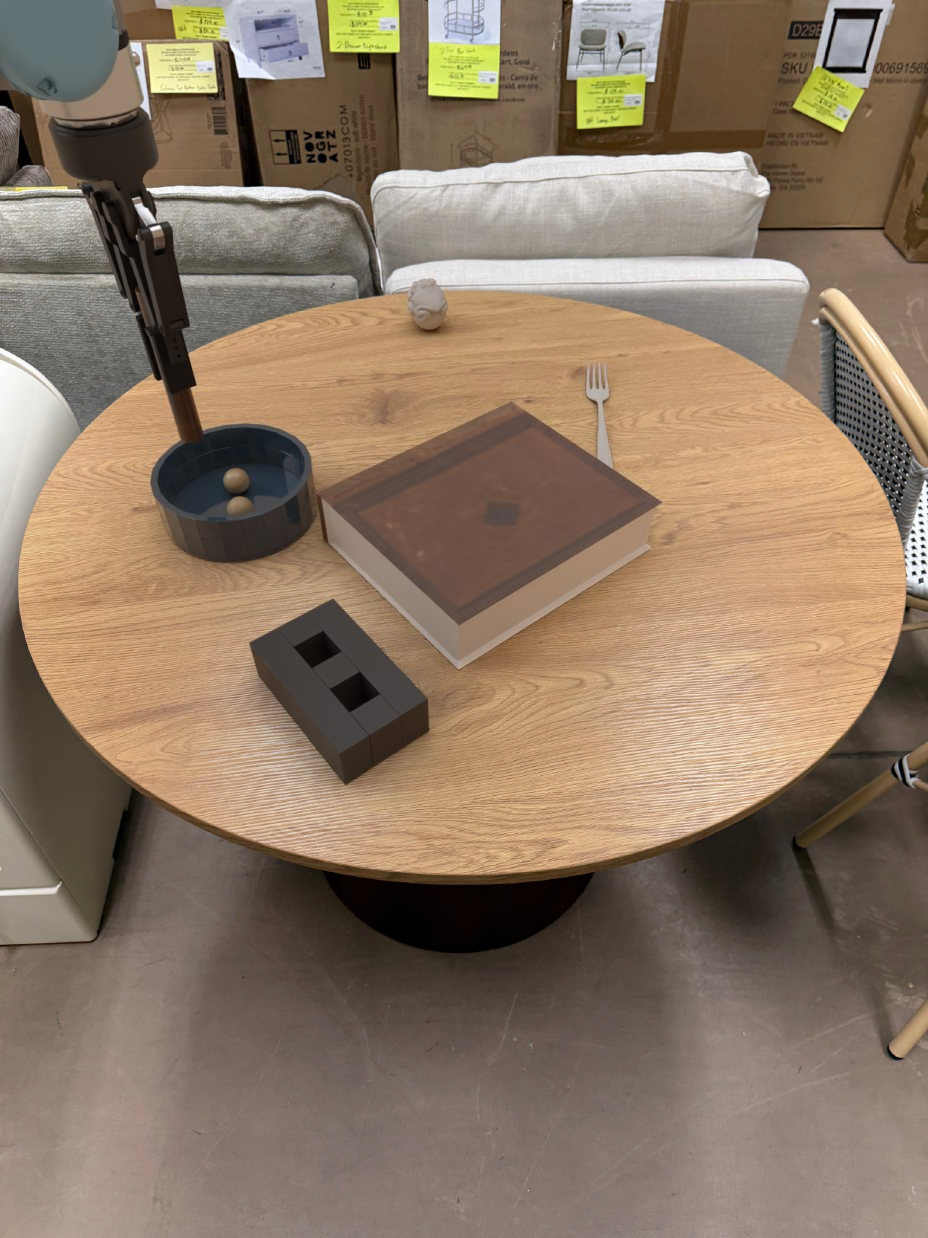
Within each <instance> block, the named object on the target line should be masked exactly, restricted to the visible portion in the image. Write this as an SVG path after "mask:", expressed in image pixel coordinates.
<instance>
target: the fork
mask: <svg viewBox="0 0 928 1238" xmlns="http://www.w3.org/2000/svg"><path fill="white" fill-rule="evenodd" d="M601 365H602V364H601V361H599V362H598V369H597V371H598V372H597V375H598V388H597V383H596V362H595V361H593V365H592V382H591V381H590V378H591V362H590V361H587V368H586V369H587V370H586V383H585V395H586V397H587V398H588V399H590V400H591V401H594V402H596V404H597V409H598V412H597V413H598V416H597V417H598V423H597V426H598V427H597V444H596V445H597V446H596V447H597V448H596V449H597V450H596V458H597V459H599V460H600V461H602V462H603V463H605V464H606V465H608V466H609V467H611V468H612V469H614V465H613V459H612V453H611V448H610V443H609V436H608V432H607V427H606V421H605V413H604V403H603V402H604V401H607V400H608V399H609V398H610V388H609V381H608V371H607V365H606V362H605V361H604V362H603V377H604V378H603V379H604V387H603V381H602V366H601ZM590 382H591V383H592V385H591V387H590Z"/></svg>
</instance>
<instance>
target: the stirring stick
mask: <svg viewBox="0 0 928 1238" xmlns="http://www.w3.org/2000/svg"><path fill="white" fill-rule="evenodd" d="M135 292H136V295H137V299H138V302H139V305H140V308H141V312H142V315H143V318H144V321H145V325H146V327H149V326H152V324H151V321H150V318H149V315H148V312H147V309H146V306H145V303H144V300H143V297H142V294H141V291H140V288H139V285H138V286H137V287H136V288H135ZM149 338H150V341H151V344H152V348H153V351H154V354H155V357H156V361H157V364H158V367H159V371H160V374H161V377H162V380H161V381H162V383H163V386H164V390H165V393H166V396H167V401H168V403H169V407H170V410H171V413H172V416H173V419H174V423H175V425H176V429H177V432H178V436H179V439H180V441H181V440H182V441H183V442H186V443H193V442H197V441H199V440H200V439H202V437H203V435H204V434H203V430H204V429H203V427H202V423H201V420H200V416H199V413H198V409H197V404H196V401H195V399H194V394H193V391H192V388H189V389H186V390H183V391H181V392H178V393H175V394H173V395H171V394H170V393H169V392H168V390H167V387H166V384H165V380H164V377H163V374H162V371H161V367H160V364H159V361H158V357H157V354H156V351H155V347H154V344H153V341H152V338H151V337H149Z"/></svg>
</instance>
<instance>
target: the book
mask: <svg viewBox="0 0 928 1238" xmlns="http://www.w3.org/2000/svg"><path fill="white" fill-rule="evenodd" d="M316 496H317V503H318V514H319V520H320V527H321V533H322V538H323V540H324V541H326V543H328V545H329V546H331V547H332V548H333V549H334V551H336V552H337V553H338V554H339V555H340V556H341V557H342V558H343V559H344V560H345V561H346V562H347V564H349V565H350V566H351V567H352V568H353V569H354V570H355V571H356V572H357V573H358V574H359V575H361V576H362V577H363V578H364V580H366V581H367V582H368V584H370V585H371V587H373V588H374V589H375V590H376V591H377V592H378V593H379V594H380V596H382V597H383V598H384V600H386V601H387V602H388V603H389V604H391V606H392V607H393V608H394V609H395V610H396V611H397V612H398V613H400V614H401V615H402V617H404V618H405V619H406V620H407V621H408V622H409V623H410V624H411V626H413V627H414V628H415V629H416V630H417V631H418V632H419V633H420V634H421V635H422V636H423V637H424V638H425V639H426V640H427V641H428V642H429V643H430V644H431V645H432V646H434V648H436V649H437V651H439V653H441V654H442V655H443V656H444V657H445V658H446V660H447V661H449V663H451V664H452V665H453V666H454V667H455V668H456V669H457V670H461V669H463V668H464V667H466V666H467V665H468V664H470V663H472V662H473V661H475V660H477V659H478V658H480V657H482V656H483V655H484V654H486V653H488V652H490V651H491V650H493V649H494V648H496V647H497V646H498V645H500V644H502V643H503V642H505V641H507V640H508V639H510V638H511V637H513V636H515V635H516V634H518V633H519V632H521V631H523V630H524V629H526V628H527V627H529V626H531V625H532V624H534V623H535V622H537V621H538V620H540V619H541V618H543V617H545V616H547V615H548V614H550V613H551V612H552V611H554V610H555V609H558V608H559V607H560V606H562V605H563V604H565V603H567V602H568V601H570V600H571V599H573V598H575V597H576V596H578V595H579V594H582V593H583V592H584V591H586V590H587V589H589V588H590V587H592V586H594V585H595V584H597V583H598V582H601V580H603V579H605V578H606V577H608V576H609V575H611V574H613V573H614V572H616V571H618V570H619V569H621V568H622V567H624V566H625V565H627V564H629V563H630V562H631V561H633V560H635V559H636V558H638V557H639V556H641V555H642V554H645V553H646V552H648V551H649V550H650V549H652V546H651V545H649V544H648V539H649V535H650V530H651V526H652V522H653V518H654V514H655V511H656V507H658V506H660V505H662V504H663V503H664V501H662V500H660V499H659V498H657V497H656V496H654V495H652V494H651V493H649V491H647V490H645V489H643V488H642V487H640V486H639V485H638V484H636V483H635V482H633V481H632V480H630V479H629V478H628V477H625V476H624V475H623V474H621V473H619V472H618V471H617V470H615V468H613V469H612V468H611V467H609V466H608V465H606V464H605V463H603V462H602V461H600V460H599V459H597V456H594V455H593V454H591V453H590V452H588V451H586V450H585V449H584V448H582V447H580V446H579V445H578V444H576V443H575V442H573V441H572V440H571V439H568V438H567V437H566V436H564V435H563V434H561V433H559V432H558V431H556V430H555V429H553V428H552V427H550V426H549V425H547V424H546V422H545V423H544V422H543V421H542V420H540V419H539V418H537V417H536V416H534V415H532V414H531V413H530V412H528V411H527V410H525V409H524V408H522V407H521V406H519V405H517V404H516V403H514V402H513V401H509V402H507V403H505V404H503V405H501V406H498V407H496V408H494V409H493V410H490V411H488V412H486V413H484V414H481V415H479V416H477V417H475V418H473V419H470V420H469V421H466V422H464V423H462V424H460V425H458V426H455V427H454V428H451V429H450V430H447V431H445V432H443V433H440V434H438V435H436V436H434V437H432V438H430V439H428V440H426V441H423V442H421V443H419V444H417V445H415V446H413V447H411V448H409V449H406V450H404V451H402V452H400V453H398V454H396V455H394V456H392V457H389V458H387V459H385V460H383V461H381V462H378V463H377V464H374V465H372V466H370V467H367V468H365V469H363V470H362V471H359V472H357V473H355V474H353V475H350V476H348V477H347V478H345V479H342V480H340V481H338V482H336V483H334V484H331V485H328V486H327V487H325V488H323V489H321V490H319V491H317V492H316Z"/></svg>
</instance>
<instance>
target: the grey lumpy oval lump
mask: <svg viewBox="0 0 928 1238" xmlns="http://www.w3.org/2000/svg"><path fill="white" fill-rule="evenodd" d="M406 307H407V310H408V311H409V314H410V315H411V318H412V320H413V321H414V323H415V324H416V325H417V326H418V327H419V328H421V329H422V330H427V331H429V330H430V331H431V330H435V329H437V328H438V327H440V326H441V325H442V323H443V322H444V320H445V317H446V316H447V311H448V309H449V304H448V301H447V299H446V295H445V292H444V291H443V290H442V288H441V287H440V285H439V284H437V280H436V279H435V278H433V277H429V278H420V279H419V280H415V281H413V282H412V285H411V287H410V288H409V290H408V293H407V305H406Z"/></svg>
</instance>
